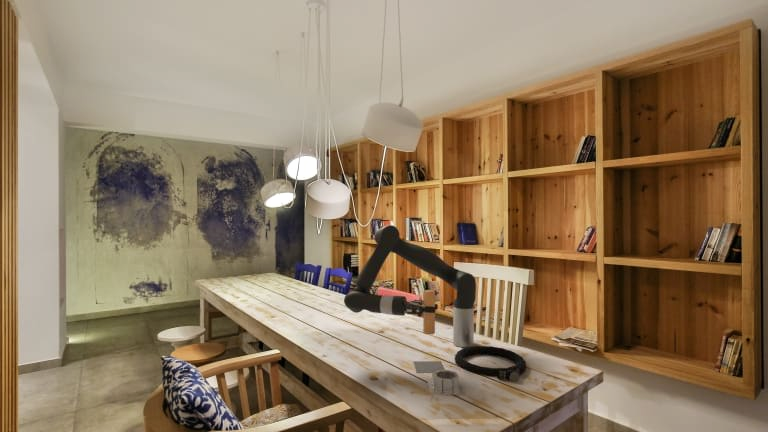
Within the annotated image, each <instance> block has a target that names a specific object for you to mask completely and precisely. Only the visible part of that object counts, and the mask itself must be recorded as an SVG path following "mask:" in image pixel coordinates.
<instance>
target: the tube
mask: <svg viewBox="0 0 768 432" xmlns="http://www.w3.org/2000/svg"><path fill="white" fill-rule="evenodd" d="M422 299H423V300H422V301H423V304H422V305H423V306H425V307H426V306H430V307H435V304H436V291H435V290H433V289H424V290H423V298H422ZM422 315H423V317H422V318H423V321H422V322H423V326H422V327H423V328H422V329H423V332H422V333H423V334H425V335H434V334H435V333H436V312H435V313H427V312H425V313H423V314H422Z"/></svg>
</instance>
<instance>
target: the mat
mask: <svg viewBox="0 0 768 432" xmlns="http://www.w3.org/2000/svg"><path fill="white" fill-rule="evenodd" d="M413 365H414V368H415V369H414V370H415V371H416V374H432V373H433V372H435V371H437V370H446V369H445V367H444V365H443V362H442V361H441V360H437V361H436V360H434V361H433V360H429V361H427V360H426V361H425V360H424V361H421V360H420V361H419V360H417V361H413Z"/></svg>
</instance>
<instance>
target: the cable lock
mask: <svg viewBox="0 0 768 432" xmlns="http://www.w3.org/2000/svg"><path fill="white" fill-rule="evenodd" d="M475 355H480V356H481V355H489V356H495V357H496V356H497V357H500V358H504V359H508V360H510V361H512V362H514V363H515V365H512V366H509V367H488V366H481V365H477V364H475V363H471V362H469V361H467V360H466V359H465V358H468V357H469V356H475ZM454 362H455V364H456V365H457V366H459V367H460V368H461V369H463V370H465V371H468V372H470V373H473V374H477V375H483V376H487V377H496V378H497V379H498V380H506V381H508V382H511V383H512V382H518V380H519V377H520V375H522V373H524V372H526V369H527V362H526V360H525V359H524V357H523V356H521V355H520V354H519V353H516V352H514V351H512V350H509V349H506V348H504V347H497V346H496V347H495V346H489V345H488V346H487V345H475V346H474V345H473V346H472V347H463V348H461V349H460V350H457V352H456V354H455V355H454Z"/></svg>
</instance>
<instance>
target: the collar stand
mask: <svg viewBox="0 0 768 432" xmlns="http://www.w3.org/2000/svg"><path fill="white" fill-rule="evenodd" d="M431 374H432V379H427V380H426V381H427V385H428V387H429V390H430V393H431V395H432V396H433V395H434V396H437V395H438V396H439V395H442V396H446V395H447V396H448V395H466V392H465V391H464V389H463V387H462V385H461V382H460V379H459V377H460V376H459V374H458V373H457V372H455V371H452V370H449V369H445V370H437V371H435V372H433V373H431Z"/></svg>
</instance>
